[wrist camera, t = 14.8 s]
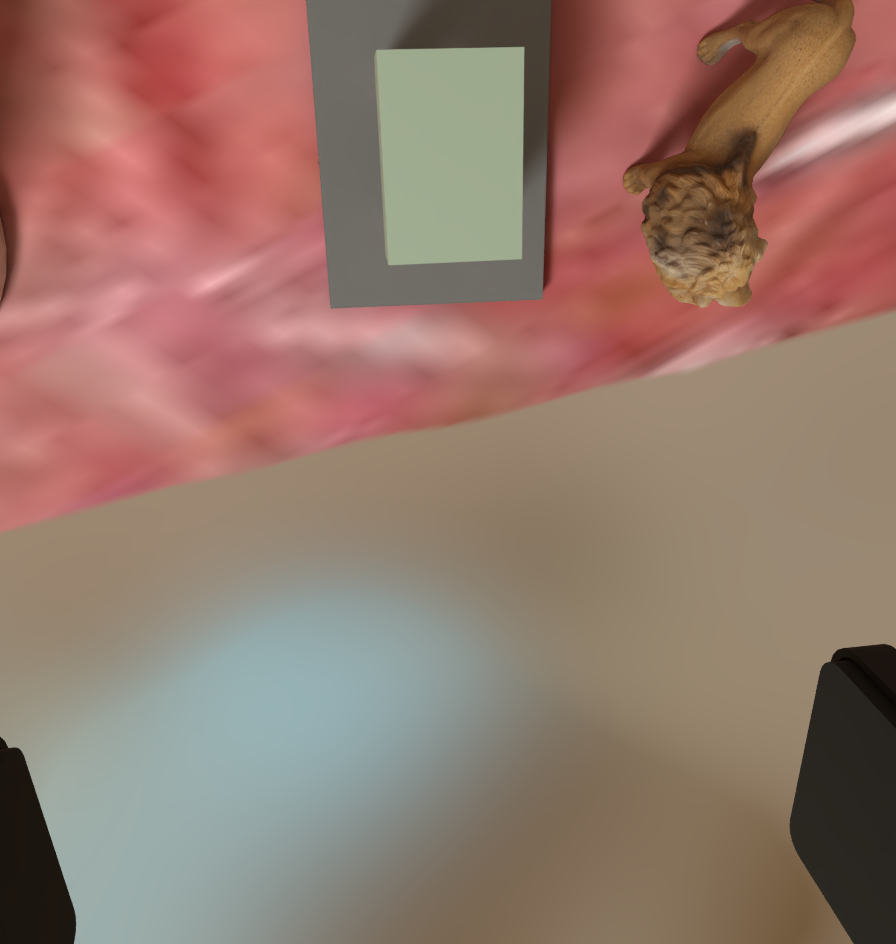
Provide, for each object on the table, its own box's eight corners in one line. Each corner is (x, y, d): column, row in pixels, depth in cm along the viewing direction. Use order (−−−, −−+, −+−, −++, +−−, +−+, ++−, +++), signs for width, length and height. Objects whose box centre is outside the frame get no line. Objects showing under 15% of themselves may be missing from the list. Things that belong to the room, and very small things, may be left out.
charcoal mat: (331, 304, 37) (330, 308, 36) (303, -47, 31) (302, -51, 30) (538, 296, 38) (542, 299, 37) (548, -46, 32) (553, -50, 31)
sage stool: (370, 66, 32) (376, 49, 26) (490, 64, 33) (524, 47, 26) (381, 241, 35) (388, 265, 29) (490, 236, 35) (521, 259, 29)
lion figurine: (675, 296, 38) (763, 340, 30) (581, 255, 37) (647, 290, 29) (836, -22, 34) (993, -73, 25) (735, -82, 32) (866, -156, 24)
